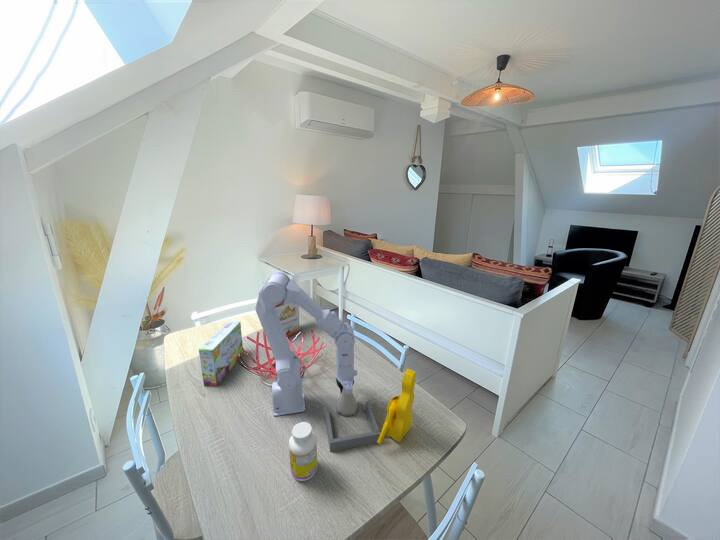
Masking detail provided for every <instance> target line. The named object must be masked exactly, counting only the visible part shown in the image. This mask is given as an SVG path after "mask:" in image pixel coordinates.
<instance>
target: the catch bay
mask: <svg viewBox="0 0 720 540" xmlns="http://www.w3.org/2000/svg"><path fill="white" fill-rule="evenodd" d="M365 412H366V413H365V414H366V415H367V418H368V422H369V424H370V427H371V431H370V432H366V433H361V434H360V433H359V434H354V435H348V436H344V437H338V438H334V437H333V429H332V424H331V417H330V413H329V408H328V407H325V408H324V419H325V426H326V432H327V440H328V446H329V452H335V451H340V450H346V449H351V448H357V447H361V446H367V445H372V444H378V442H377V441H378V438H379V436H380V434H381V432H380V429H379V427H378V424H377V423H378V422H377V421H376V418H375V415H374V413H373V409H372V407H371V405H370V402H369V400H368V401H367V400H366V401H365Z"/></svg>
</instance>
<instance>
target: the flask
mask: <svg viewBox="0 0 720 540" xmlns="http://www.w3.org/2000/svg"><path fill="white" fill-rule="evenodd" d="M342 386H343V385H342ZM337 400H338V401H337V402H336V404H335V407H336V408H335V409H336V413H337V414H340V415H341V416H344V417H348V416H354V415H355V414H356V413H357V411H358V410H359V406H358V400H357V399H356V396H355V395H354V392H353V393H352V394H347V395H346V390H345V388H344V387H343V390H342V394H341V393H340V396H339V399H337Z"/></svg>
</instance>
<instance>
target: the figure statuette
mask: <svg viewBox="0 0 720 540" xmlns="http://www.w3.org/2000/svg"><path fill="white" fill-rule="evenodd" d="M416 379H417V371H414V370H413V369H410V368H406V370H405V371H404V373H403V377H402V380H401V393H400V394H398V395H396V396H393V397H392V398H391V399H390V401H389V402H387V405H386V407H385V408H386V409H385V410H386V411H385V412H386V415H385V416H386V417H385V420H384V421H383V426H382V429H381V432H380V436H379V438H378V441H377V444H379V445H382V444H383V442H384V439H385V437H386V436H387V438H388V437H389V438H391V439H392V440H394V441H396V442H398V443H399V444H400V443H402V441H403V439H404V438H405V436H406V435H407V434H408V432H409V431H410V429H411V427H412V425H413V404H414V401H415V395H414V391H415V385H416Z"/></svg>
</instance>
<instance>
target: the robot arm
mask: <svg viewBox="0 0 720 540" xmlns="http://www.w3.org/2000/svg"><path fill="white" fill-rule="evenodd" d="M283 299H284V300H285V301H284V304H289V303H296V304H297V305H298V306H299V308H301V309H302V310H303V311H304V312H306V313H308V314H309V315H310V316H311V317H313V318H314V319H315V325H316V326H318V328H319V329H321V330H322V331H323V332H324V333H325V334H327V335H328V336H329V337H331V339H334V344H335V346H336V347H335V375H334V377H335V382H336V385H337V386H338V388H339V391H340V395H341V394H342V390H343V387H344V388H345V390H346V395H347V394H352V393H353V394H354V392H353V391H354V390H353V389H354V388H353V385H354V384H355V379H354V378H355V377H357V376H358V370H357V369H355V347H354V346H355V345H356V344H355V343H356V340H355V332H354V331H355V330H354V328H353V326H352V325H351V324H350V323H349V322H346V321H345V322H343V320H341V318H340V317H338V316H337V313H336V312H335V311H334V310H333V311H331V310H330V309H328V308H327V309H323V308H322V307H321V306H320V305H319V304H318V303H317V302H316V301H315V300H314V299H312V297H311V296H310V295H309V294H307V293H306V291H304V290H303V289H302V288H301V287H300V286H299V284H297V282H296V280H294V279H292V278H290V277H289V276H288V275H287V274H286V273H284V272H282V271H277V272H274V273H272V274H271V275H270V277H269V278H268V279H267V281H265V284H264V285H263V286H262V287H261V289H260V290H259V291H258V296H257V301H256V303H255V304H256V305H255V312H256V315H257V317H258V319H259V322H260V324H261V327H262V330H263V333H264V335H265V338H266V340H267V342H268V344H269V347H270V349H271V353H272V354H273V357H274V359H275V373H276V375H277V377H276V381H274V382H272V386H271V387H272V388H271V393H272V395H271V397H272V399H271V400H272V406H273V407H272V408H273V410H272V411H273V416H274V417H277V416H283V415H289V414H295V413H302V412H305V411H306V409H305V394H304V392H303V378H302V376H301V374H300V371H301V367H302V360H301V358H300V357H298V356H297V355H296V352H295V351H294V350H292V349H291V346H290V344H289V343H290V342H289V340H288V337H286V335H285V333H284V330H283V327H282V325H281V322H280V319H279V317H278V314H277V311H276V309H275V307H276V305H277V304H279V303H280V302H281V301H282V300H283ZM342 385H343V386H342Z"/></svg>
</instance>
